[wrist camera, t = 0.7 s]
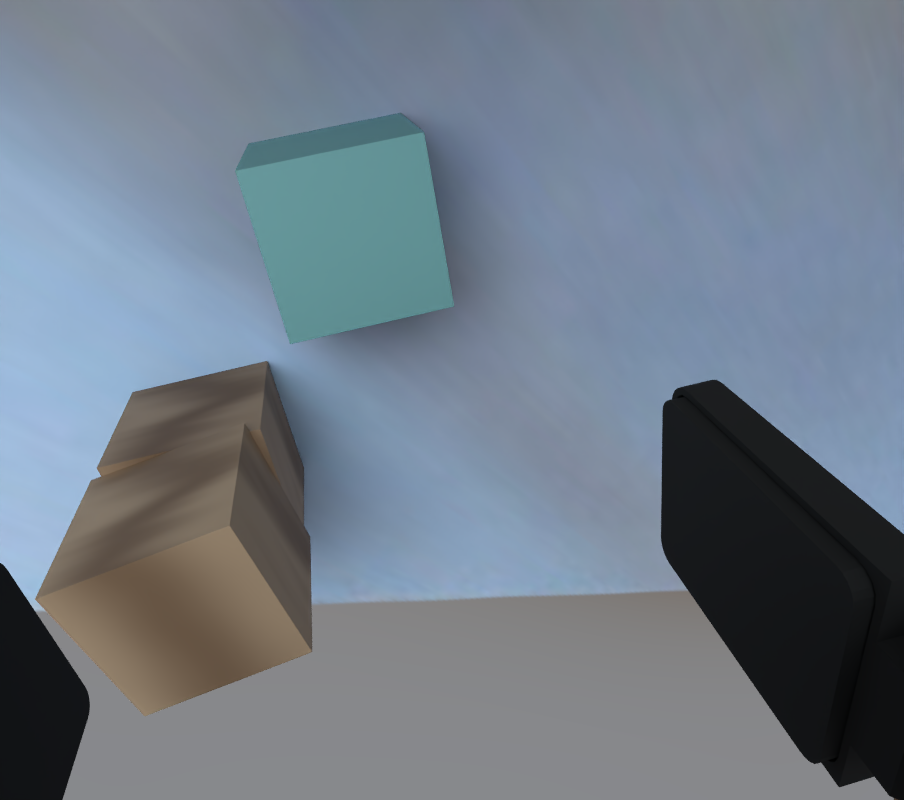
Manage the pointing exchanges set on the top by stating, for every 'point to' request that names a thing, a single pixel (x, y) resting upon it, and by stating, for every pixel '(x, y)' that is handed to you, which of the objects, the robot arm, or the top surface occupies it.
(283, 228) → the teal block
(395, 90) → the top surface
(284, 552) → the tower mid
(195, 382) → the tower base
